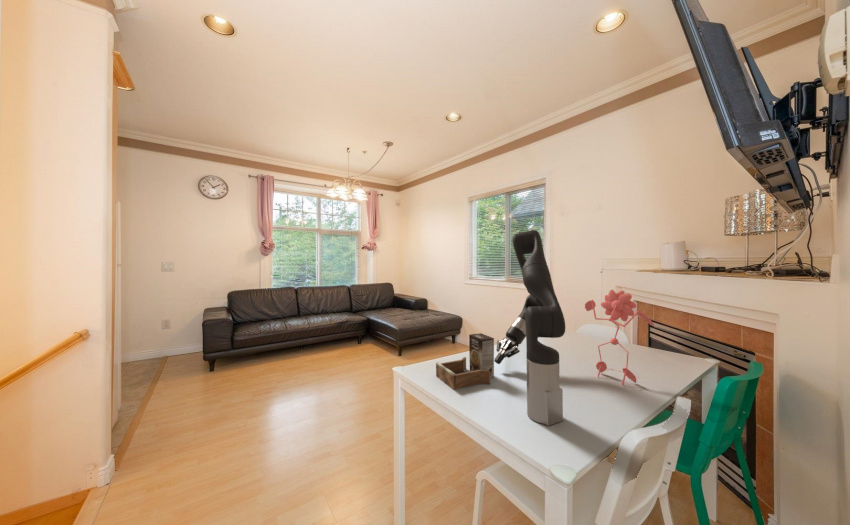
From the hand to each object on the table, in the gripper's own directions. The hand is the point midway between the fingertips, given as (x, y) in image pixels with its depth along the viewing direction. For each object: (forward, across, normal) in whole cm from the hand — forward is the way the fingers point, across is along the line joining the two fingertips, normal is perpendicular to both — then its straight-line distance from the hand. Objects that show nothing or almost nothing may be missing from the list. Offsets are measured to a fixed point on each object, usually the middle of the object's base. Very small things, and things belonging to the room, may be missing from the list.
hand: (496, 362), depth 125 cm
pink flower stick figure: (-25, +27, +31) cm, 48 cm away
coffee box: (+8, 0, -2) cm, 9 cm away
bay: (+15, 0, -10) cm, 18 cm away
